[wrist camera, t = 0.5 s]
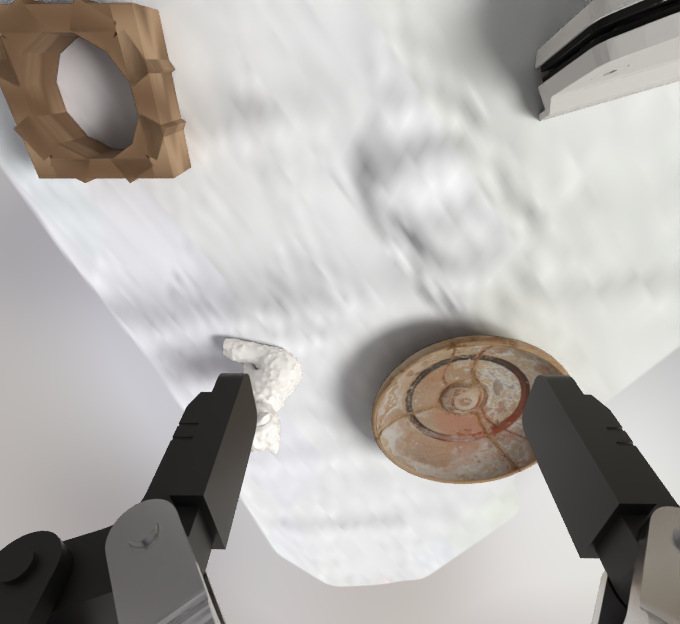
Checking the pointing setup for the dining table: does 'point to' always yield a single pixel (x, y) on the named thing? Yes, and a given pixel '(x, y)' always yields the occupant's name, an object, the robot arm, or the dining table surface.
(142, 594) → the robot arm
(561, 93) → the grey rounded slab
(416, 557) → the dining table surface
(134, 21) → the bore block
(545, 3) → the dining table surface
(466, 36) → the dining table surface
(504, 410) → the ceramic bowl
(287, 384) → the sitting furry creature
